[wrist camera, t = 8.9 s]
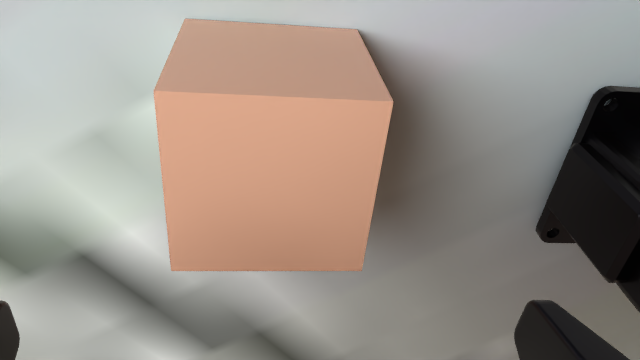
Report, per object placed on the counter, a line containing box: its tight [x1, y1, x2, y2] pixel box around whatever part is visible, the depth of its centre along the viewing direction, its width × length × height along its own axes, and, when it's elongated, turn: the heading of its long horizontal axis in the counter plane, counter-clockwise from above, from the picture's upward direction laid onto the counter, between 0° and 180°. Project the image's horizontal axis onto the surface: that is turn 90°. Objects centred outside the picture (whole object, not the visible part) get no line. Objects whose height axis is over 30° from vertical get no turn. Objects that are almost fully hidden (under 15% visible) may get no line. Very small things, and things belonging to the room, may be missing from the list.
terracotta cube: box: [154, 19, 393, 271], centre depth 14 cm, size 5×5×5 cm
